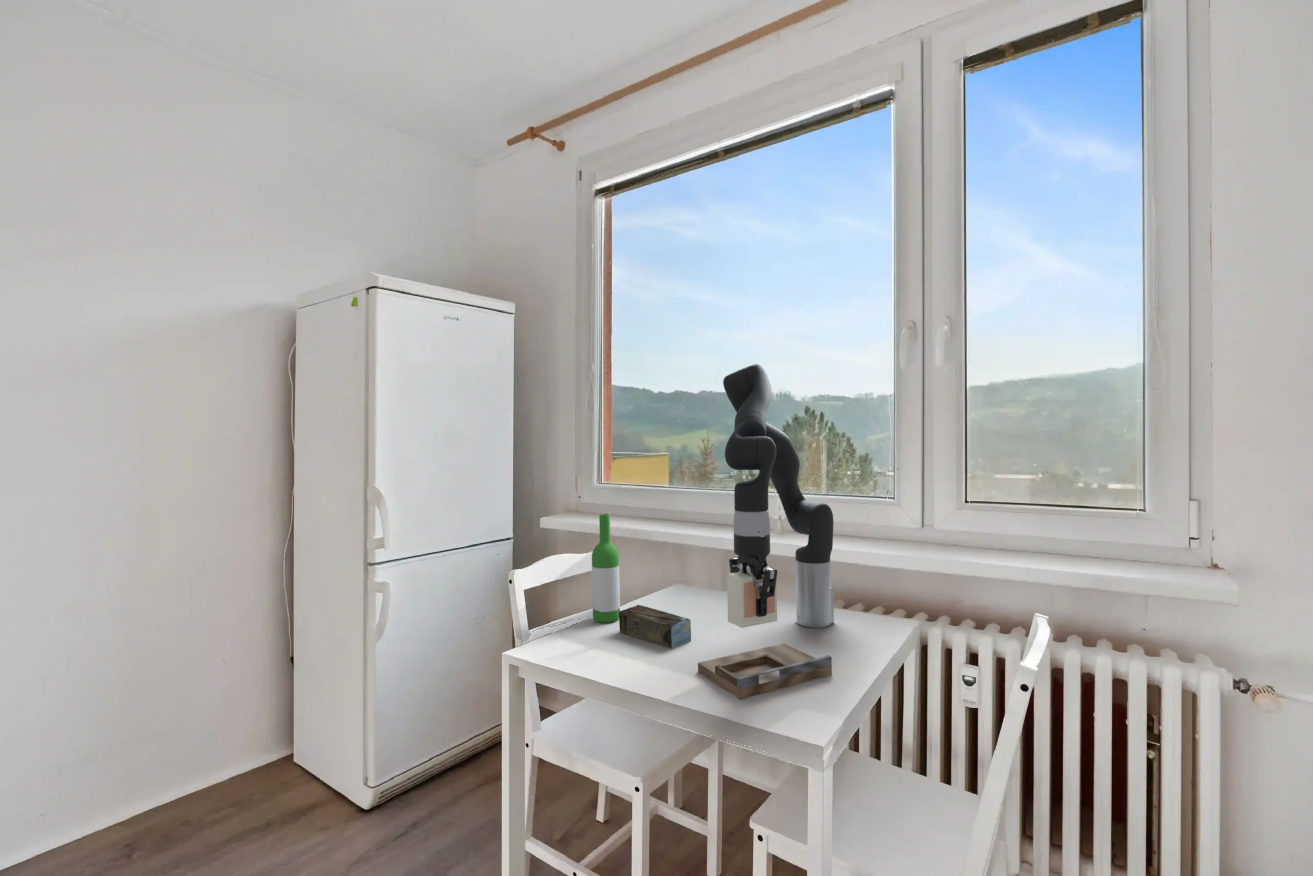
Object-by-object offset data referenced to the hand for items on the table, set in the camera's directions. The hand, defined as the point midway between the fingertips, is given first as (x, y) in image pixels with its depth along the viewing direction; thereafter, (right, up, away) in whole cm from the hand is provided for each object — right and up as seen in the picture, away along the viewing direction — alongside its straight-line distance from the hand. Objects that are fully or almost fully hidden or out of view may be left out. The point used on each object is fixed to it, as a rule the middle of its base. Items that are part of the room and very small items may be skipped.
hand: (752, 612), depth 127 cm
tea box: (0, -2, 0) cm, 2 cm away
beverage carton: (-21, -16, +30) cm, 40 cm away
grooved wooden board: (+3, -15, +5) cm, 16 cm away
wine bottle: (-34, -15, +45) cm, 59 cm away
